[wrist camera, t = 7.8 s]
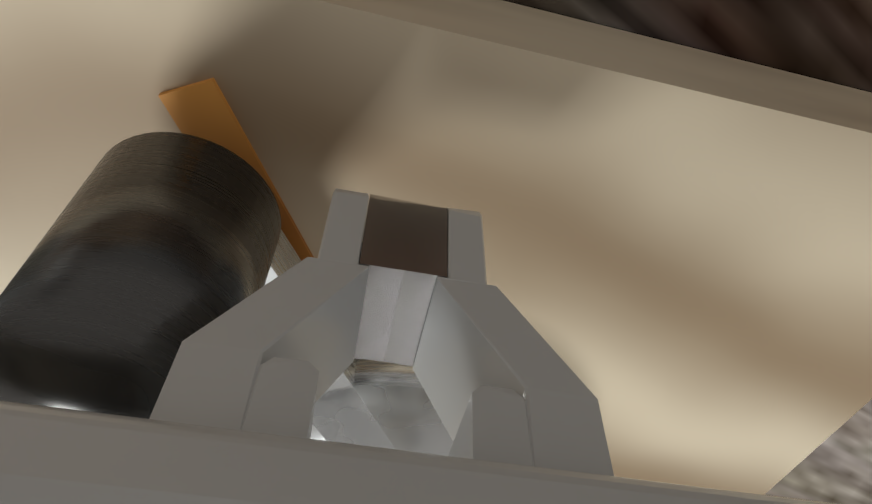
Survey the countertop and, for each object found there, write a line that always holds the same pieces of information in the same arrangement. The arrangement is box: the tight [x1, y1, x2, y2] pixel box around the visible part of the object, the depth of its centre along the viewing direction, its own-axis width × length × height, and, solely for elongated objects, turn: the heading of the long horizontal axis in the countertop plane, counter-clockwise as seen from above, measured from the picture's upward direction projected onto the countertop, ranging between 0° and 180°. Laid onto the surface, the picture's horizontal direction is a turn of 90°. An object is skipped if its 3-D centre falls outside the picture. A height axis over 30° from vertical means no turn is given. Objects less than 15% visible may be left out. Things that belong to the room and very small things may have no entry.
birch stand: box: [0, 0, 872, 495], centre depth 18 cm, size 22×22×2 cm
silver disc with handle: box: [0, 132, 453, 456], centre depth 13 cm, size 14×8×5 cm, turn 19°
